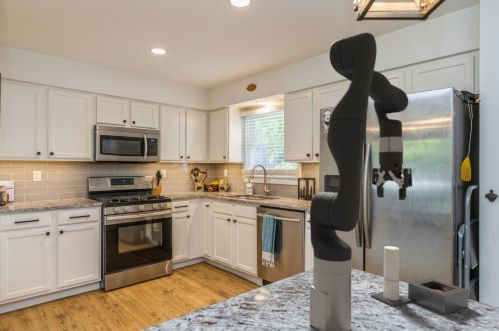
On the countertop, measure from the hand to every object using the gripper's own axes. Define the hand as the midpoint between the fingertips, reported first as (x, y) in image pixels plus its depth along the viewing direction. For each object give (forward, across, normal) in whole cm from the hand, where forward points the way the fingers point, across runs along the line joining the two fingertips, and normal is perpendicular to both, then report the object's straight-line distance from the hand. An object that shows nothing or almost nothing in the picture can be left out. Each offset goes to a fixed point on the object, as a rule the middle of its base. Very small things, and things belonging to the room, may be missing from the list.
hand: (391, 198), depth 105 cm
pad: (+30, +8, -10) cm, 32 cm away
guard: (+30, +15, +1) cm, 33 cm away
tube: (+29, +8, -9) cm, 32 cm away
